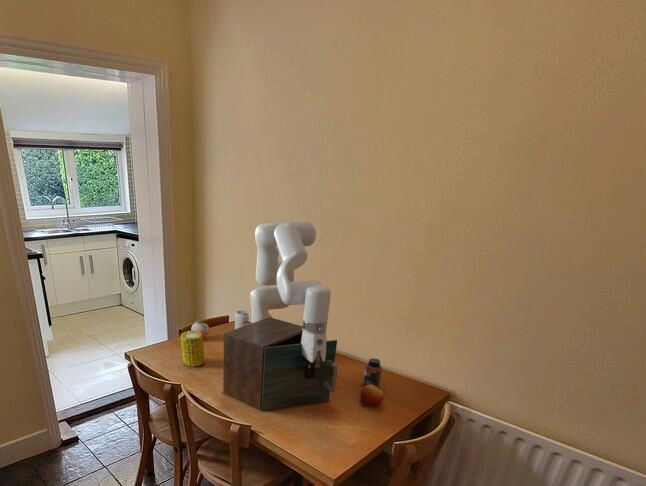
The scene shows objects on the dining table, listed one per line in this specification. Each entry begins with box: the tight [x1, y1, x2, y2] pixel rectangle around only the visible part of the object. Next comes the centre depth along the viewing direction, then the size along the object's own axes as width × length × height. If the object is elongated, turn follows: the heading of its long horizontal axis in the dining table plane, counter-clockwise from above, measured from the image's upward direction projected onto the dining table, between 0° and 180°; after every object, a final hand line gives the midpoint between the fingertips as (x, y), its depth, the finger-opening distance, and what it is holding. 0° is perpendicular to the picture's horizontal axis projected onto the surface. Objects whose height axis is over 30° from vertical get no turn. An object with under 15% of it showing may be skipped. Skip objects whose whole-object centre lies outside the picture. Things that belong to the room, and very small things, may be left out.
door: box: [260, 339, 339, 412], centre depth 139 cm, size 6×26×24 cm, turn 104°
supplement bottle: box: [362, 357, 383, 388], centre depth 157 cm, size 6×6×11 cm
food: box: [180, 329, 206, 367], centre depth 177 cm, size 15×12×10 cm
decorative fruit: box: [190, 319, 211, 339], centre depth 204 cm, size 9×8×10 cm
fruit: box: [359, 385, 385, 407], centre depth 147 cm, size 8×8×8 cm
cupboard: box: [222, 317, 303, 411], centre depth 153 cm, size 18×26×24 cm
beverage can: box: [234, 310, 250, 330], centre depth 210 cm, size 7×7×12 cm
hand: (309, 377), depth 138 cm, fingers closed
